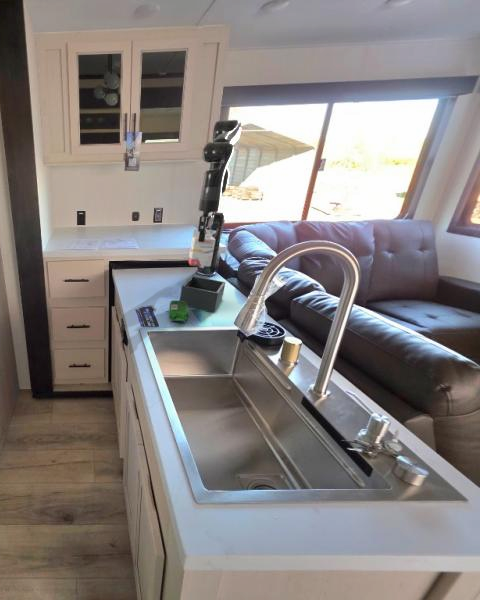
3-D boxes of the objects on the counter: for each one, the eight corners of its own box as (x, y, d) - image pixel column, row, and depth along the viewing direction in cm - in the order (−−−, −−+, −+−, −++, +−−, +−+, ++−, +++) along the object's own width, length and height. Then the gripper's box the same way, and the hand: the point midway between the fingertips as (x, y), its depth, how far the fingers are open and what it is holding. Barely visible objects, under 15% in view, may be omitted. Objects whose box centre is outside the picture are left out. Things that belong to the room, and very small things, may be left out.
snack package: (168, 324, 120) (169, 312, 118) (168, 307, 134) (170, 296, 132) (187, 327, 119) (189, 315, 116) (186, 310, 132) (188, 298, 130)
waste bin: (189, 293, 149) (192, 275, 146) (221, 300, 142) (225, 281, 138) (179, 304, 137) (181, 285, 134) (214, 312, 130) (217, 293, 126)
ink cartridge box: (190, 266, 134) (195, 231, 128) (187, 262, 138) (192, 229, 132) (211, 266, 133) (217, 231, 127) (208, 263, 137) (213, 229, 131)
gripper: (216, 200, 117) (208, 244, 124) (223, 197, 128) (216, 238, 135) (195, 199, 121) (189, 242, 128) (204, 196, 132) (198, 235, 138)
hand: (203, 239), depth 131 cm, fingers closed on ink cartridge box, 6 cm apart
